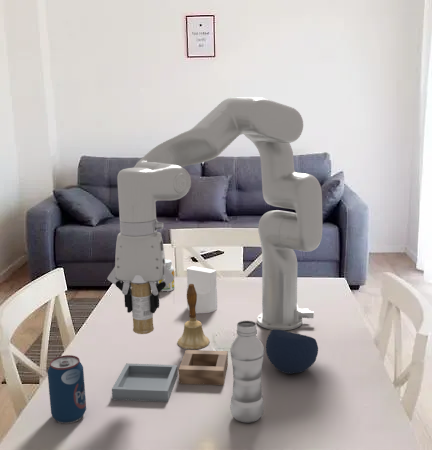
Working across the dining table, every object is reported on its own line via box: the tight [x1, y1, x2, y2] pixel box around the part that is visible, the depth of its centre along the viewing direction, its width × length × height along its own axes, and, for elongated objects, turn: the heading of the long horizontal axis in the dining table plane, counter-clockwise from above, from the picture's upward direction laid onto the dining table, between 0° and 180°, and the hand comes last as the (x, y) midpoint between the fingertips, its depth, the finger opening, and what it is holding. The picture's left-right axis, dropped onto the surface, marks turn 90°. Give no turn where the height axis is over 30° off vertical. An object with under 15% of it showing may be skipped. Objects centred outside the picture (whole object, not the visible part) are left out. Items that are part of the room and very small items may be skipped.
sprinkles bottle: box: [131, 275, 155, 335], centre depth 128 cm, size 5×5×13 cm
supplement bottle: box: [159, 258, 175, 292], centre depth 196 cm, size 5×5×10 cm
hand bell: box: [177, 284, 210, 350], centre depth 153 cm, size 8×8×16 cm
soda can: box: [47, 354, 87, 424], centre depth 120 cm, size 7×7×12 cm
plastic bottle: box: [229, 320, 265, 424], centre depth 117 cm, size 6×7×20 cm
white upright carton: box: [186, 265, 218, 314], centre depth 178 cm, size 9×9×12 cm
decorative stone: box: [265, 329, 319, 375], centre depth 138 cm, size 12×12×10 cm
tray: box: [111, 362, 179, 403], centre depth 133 cm, size 12×12×2 cm
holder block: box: [178, 349, 229, 386], centre depth 138 cm, size 10×10×4 cm
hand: (142, 309), depth 129 cm, fingers closed on sprinkles bottle, 4 cm apart
